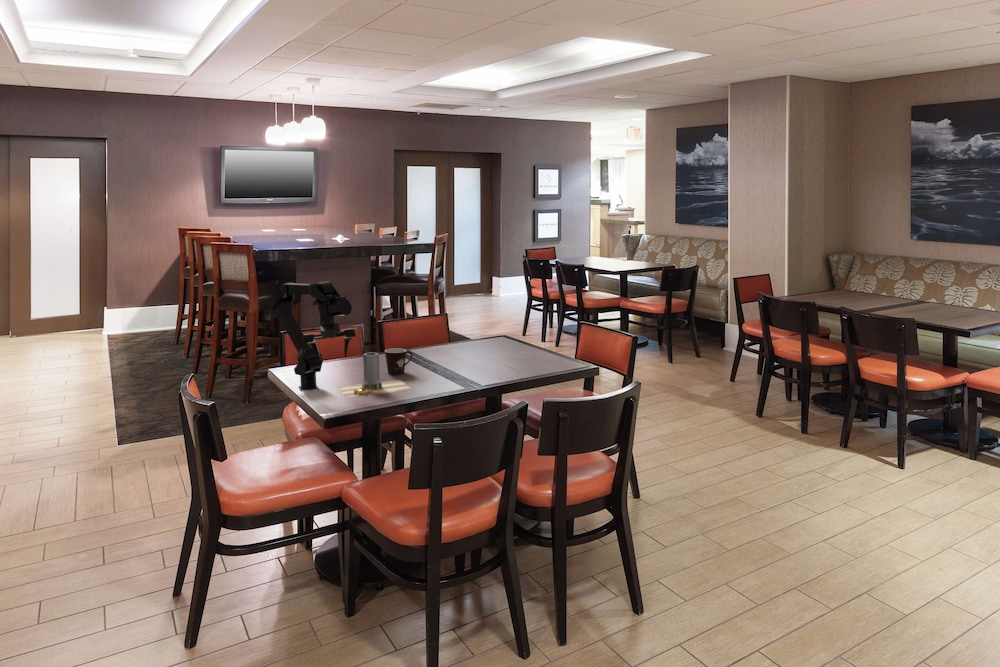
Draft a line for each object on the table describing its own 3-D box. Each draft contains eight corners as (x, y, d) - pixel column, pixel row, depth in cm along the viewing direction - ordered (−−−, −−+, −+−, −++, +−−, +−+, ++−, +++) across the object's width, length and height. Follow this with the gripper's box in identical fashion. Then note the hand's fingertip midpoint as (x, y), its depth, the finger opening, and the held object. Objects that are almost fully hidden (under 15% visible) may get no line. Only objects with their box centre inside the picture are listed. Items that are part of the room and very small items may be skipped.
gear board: (337, 388, 284) (337, 386, 283) (400, 381, 294) (400, 380, 293) (346, 398, 269) (346, 397, 269) (413, 391, 279) (413, 389, 279)
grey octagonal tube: (360, 390, 279) (359, 356, 276) (364, 385, 286) (363, 351, 284) (380, 390, 279) (379, 356, 276) (383, 385, 286) (382, 351, 283)
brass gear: (352, 391, 277) (351, 386, 276) (369, 389, 279) (369, 384, 279) (356, 396, 271) (356, 391, 270) (374, 394, 273) (374, 389, 273)
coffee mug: (386, 377, 299) (386, 353, 298) (384, 372, 308) (383, 349, 306) (415, 375, 302) (415, 351, 301) (412, 371, 311) (411, 347, 309)
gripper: (299, 321, 262) (305, 365, 263) (352, 314, 265) (358, 358, 267) (301, 319, 273) (307, 361, 274) (353, 312, 276) (358, 354, 278)
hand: (332, 358), depth 273 cm, fingers open, 9 cm apart
